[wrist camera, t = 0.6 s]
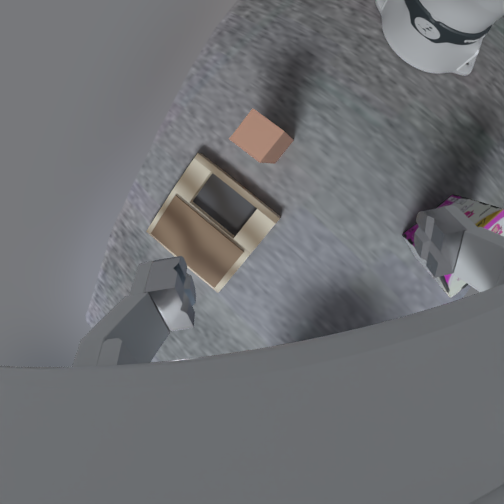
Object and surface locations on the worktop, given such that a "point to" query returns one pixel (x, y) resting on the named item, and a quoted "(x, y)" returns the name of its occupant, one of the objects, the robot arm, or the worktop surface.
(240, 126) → the terracotta block
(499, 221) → the candy bar box
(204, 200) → the hole board
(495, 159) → the worktop surface
